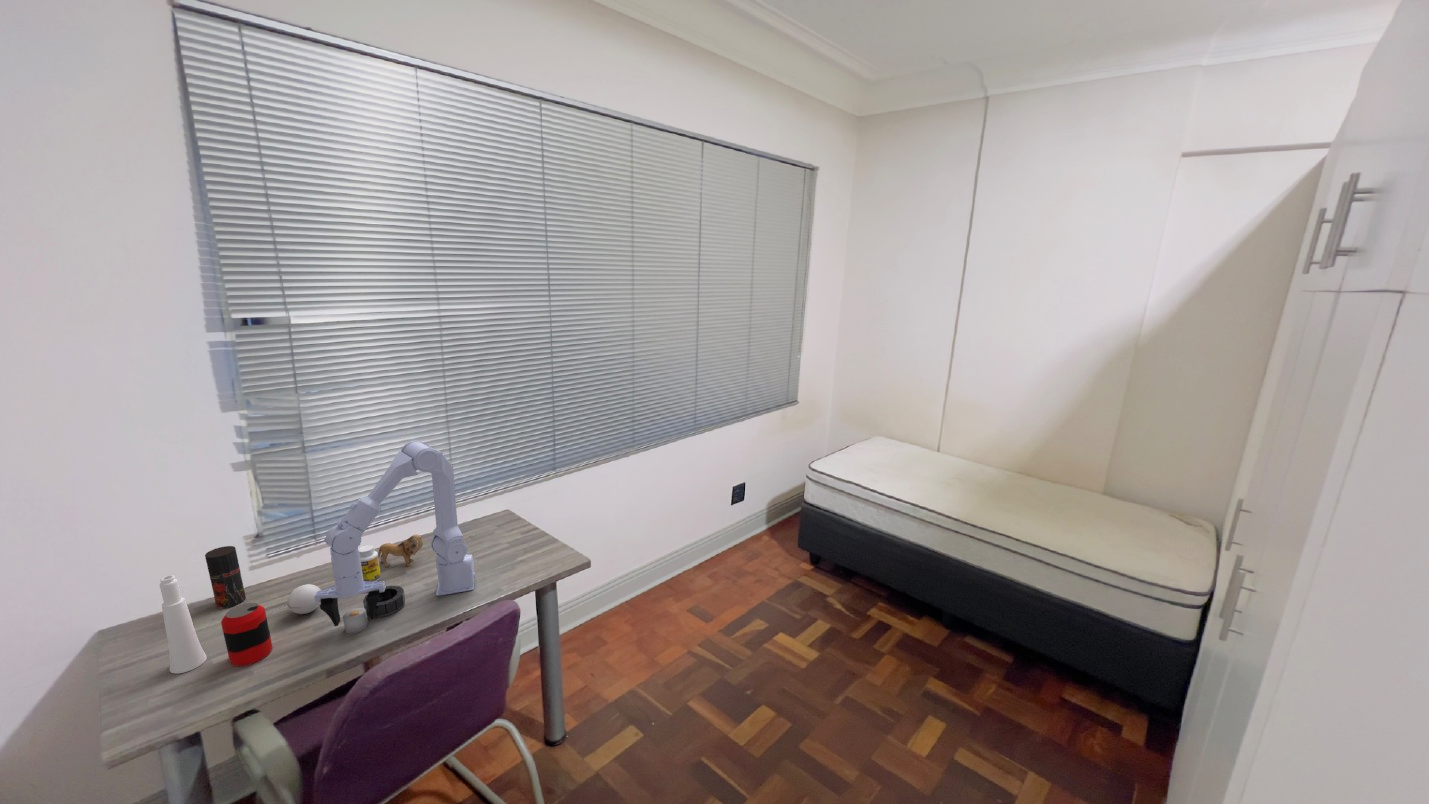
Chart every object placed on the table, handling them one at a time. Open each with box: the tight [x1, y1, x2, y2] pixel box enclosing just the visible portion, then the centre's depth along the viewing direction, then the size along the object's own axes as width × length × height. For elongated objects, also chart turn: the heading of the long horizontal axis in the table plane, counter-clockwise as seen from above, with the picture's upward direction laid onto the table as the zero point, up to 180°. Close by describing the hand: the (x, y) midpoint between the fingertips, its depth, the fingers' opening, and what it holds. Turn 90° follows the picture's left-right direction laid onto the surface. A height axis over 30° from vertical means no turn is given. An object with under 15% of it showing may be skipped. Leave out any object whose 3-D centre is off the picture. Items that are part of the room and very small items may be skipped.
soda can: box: [220, 602, 273, 667], centre depth 123 cm, size 8×8×12 cm
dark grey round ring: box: [362, 585, 406, 619], centre depth 142 cm, size 9×9×4 cm
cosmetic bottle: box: [159, 574, 208, 675], centre depth 118 cm, size 6×6×22 cm
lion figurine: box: [377, 534, 424, 568], centre depth 163 cm, size 15×5×9 cm, turn 102°
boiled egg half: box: [342, 607, 369, 635], centre depth 134 cm, size 5×5×4 cm
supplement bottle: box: [358, 544, 382, 582], centre depth 153 cm, size 6×6×10 cm
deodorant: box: [204, 545, 247, 610], centre depth 142 cm, size 6×6×15 cm
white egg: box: [278, 583, 322, 615], centre depth 138 cm, size 10×7×7 cm
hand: (355, 620), depth 134 cm, fingers open, 7 cm apart
